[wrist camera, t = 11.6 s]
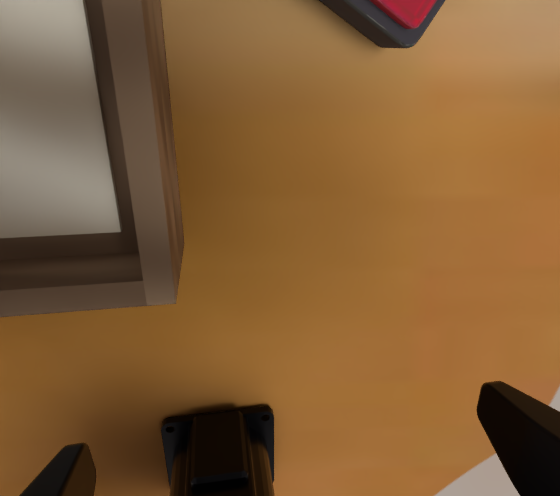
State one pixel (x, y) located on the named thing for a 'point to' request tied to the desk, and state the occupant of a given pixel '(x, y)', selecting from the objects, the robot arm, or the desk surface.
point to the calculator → (388, 19)
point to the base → (86, 158)
